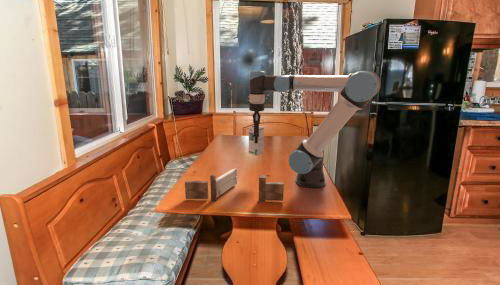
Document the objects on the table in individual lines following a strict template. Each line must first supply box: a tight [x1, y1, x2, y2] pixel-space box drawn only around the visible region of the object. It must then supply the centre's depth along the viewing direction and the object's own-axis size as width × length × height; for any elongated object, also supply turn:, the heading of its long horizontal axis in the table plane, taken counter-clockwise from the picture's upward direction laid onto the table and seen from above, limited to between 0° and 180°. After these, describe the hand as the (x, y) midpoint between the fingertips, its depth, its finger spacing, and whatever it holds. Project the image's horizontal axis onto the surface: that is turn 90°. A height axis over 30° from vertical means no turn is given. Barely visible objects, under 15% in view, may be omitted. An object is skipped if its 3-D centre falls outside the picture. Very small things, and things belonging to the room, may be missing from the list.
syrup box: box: [248, 125, 265, 157], centre depth 150 cm, size 6×6×14 cm
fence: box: [184, 174, 285, 204], centre depth 131 cm, size 44×3×12 cm, turn 88°
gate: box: [216, 167, 238, 198], centre depth 141 cm, size 18×2×8 cm, turn 153°
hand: (256, 146), depth 150 cm, fingers closed on syrup box, 8 cm apart
